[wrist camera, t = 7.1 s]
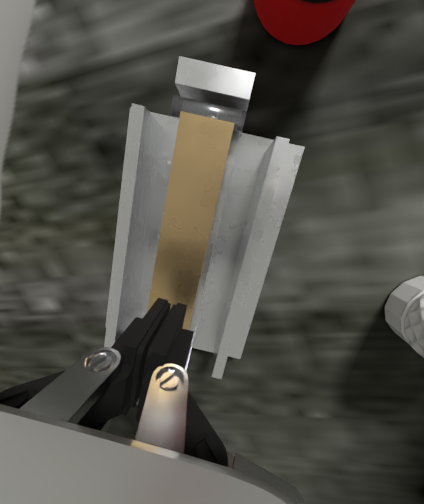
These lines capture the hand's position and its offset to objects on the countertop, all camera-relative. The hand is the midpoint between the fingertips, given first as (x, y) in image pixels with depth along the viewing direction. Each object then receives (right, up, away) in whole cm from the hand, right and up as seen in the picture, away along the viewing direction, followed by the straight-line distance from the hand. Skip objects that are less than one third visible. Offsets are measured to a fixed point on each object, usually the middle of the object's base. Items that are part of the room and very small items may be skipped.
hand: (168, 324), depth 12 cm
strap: (0, +4, +2) cm, 4 cm away
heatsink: (+1, +5, +9) cm, 10 cm away
